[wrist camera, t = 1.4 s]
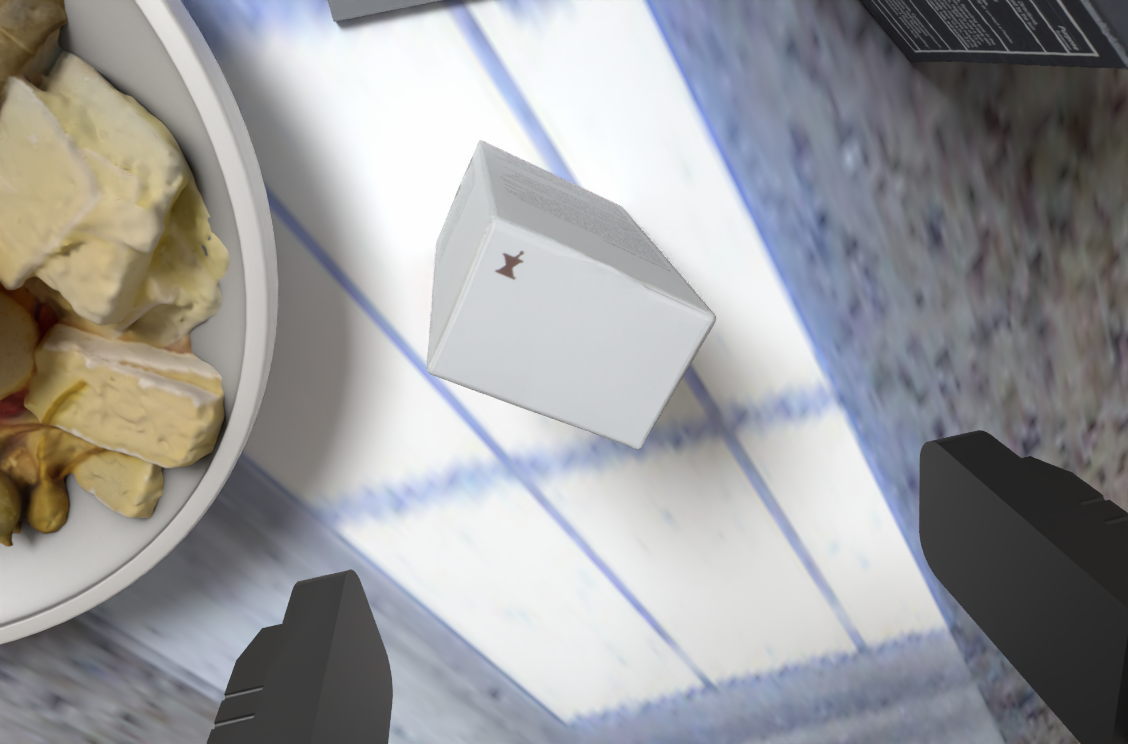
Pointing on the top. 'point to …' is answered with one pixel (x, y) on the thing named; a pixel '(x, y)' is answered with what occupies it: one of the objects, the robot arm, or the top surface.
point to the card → (368, 7)
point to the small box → (1009, 31)
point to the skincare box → (558, 302)
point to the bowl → (120, 297)
